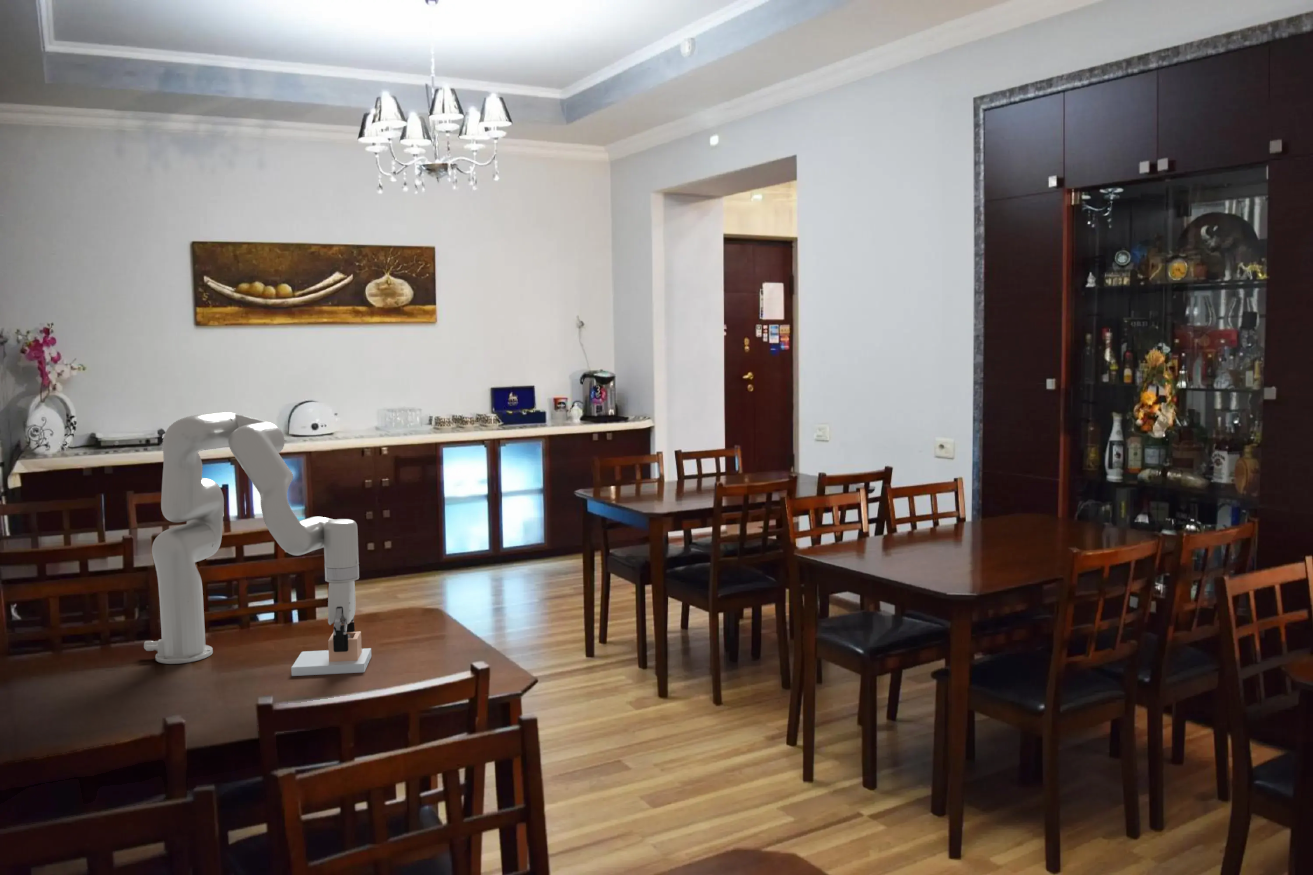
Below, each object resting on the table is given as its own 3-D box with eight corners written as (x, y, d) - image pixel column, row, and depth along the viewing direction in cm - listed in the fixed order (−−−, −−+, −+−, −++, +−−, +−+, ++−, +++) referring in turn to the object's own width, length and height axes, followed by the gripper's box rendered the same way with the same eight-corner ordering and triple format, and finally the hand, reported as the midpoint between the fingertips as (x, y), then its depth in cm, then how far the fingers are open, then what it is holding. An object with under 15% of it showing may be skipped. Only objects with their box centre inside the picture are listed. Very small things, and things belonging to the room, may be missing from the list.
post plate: (291, 675, 234) (290, 645, 234) (302, 659, 246) (301, 630, 246) (364, 672, 237) (363, 642, 236) (371, 656, 248) (370, 627, 248)
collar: (329, 661, 238) (328, 640, 238) (333, 653, 244) (333, 632, 244) (357, 660, 239) (356, 639, 238) (361, 651, 245) (360, 631, 245)
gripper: (331, 565, 248) (334, 635, 249) (318, 582, 231) (321, 657, 232) (364, 564, 249) (366, 633, 250) (353, 581, 232) (355, 655, 233)
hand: (344, 645), depth 241 cm, fingers open, 9 cm apart
